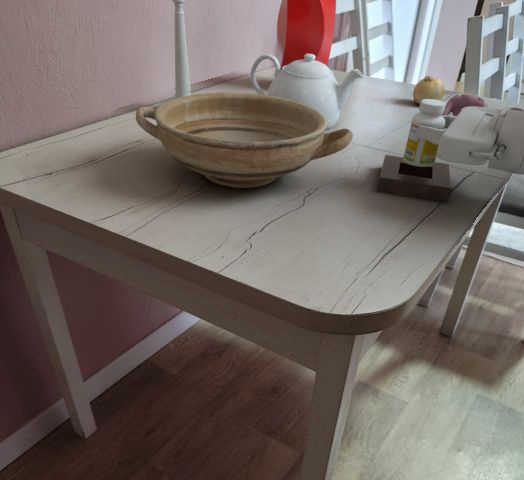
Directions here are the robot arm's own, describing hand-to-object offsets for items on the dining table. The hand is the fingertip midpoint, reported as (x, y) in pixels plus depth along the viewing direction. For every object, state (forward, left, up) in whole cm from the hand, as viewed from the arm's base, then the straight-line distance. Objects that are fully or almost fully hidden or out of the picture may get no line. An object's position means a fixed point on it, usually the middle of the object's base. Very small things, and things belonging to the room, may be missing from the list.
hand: (422, 125), depth 82 cm
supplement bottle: (-1, 0, -6) cm, 6 cm away
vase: (+32, -58, -10) cm, 67 cm away
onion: (-2, -58, -10) cm, 59 cm away
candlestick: (+53, -23, -10) cm, 59 cm away
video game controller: (-11, -46, -10) cm, 48 cm away
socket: (-1, 0, -10) cm, 10 cm away
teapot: (+26, -28, -10) cm, 40 cm away
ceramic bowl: (+29, +8, -10) cm, 32 cm away
